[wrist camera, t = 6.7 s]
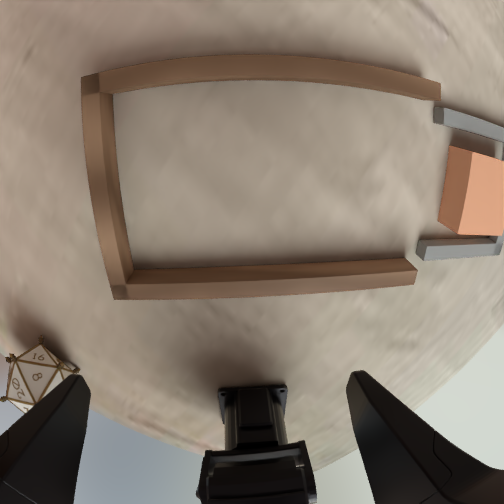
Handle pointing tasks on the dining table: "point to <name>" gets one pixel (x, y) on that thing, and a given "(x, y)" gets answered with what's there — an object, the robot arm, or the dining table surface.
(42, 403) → the robot arm
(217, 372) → the dining table surface
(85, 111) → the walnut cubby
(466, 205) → the terracotta block
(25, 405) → the game die
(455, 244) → the grey bay
